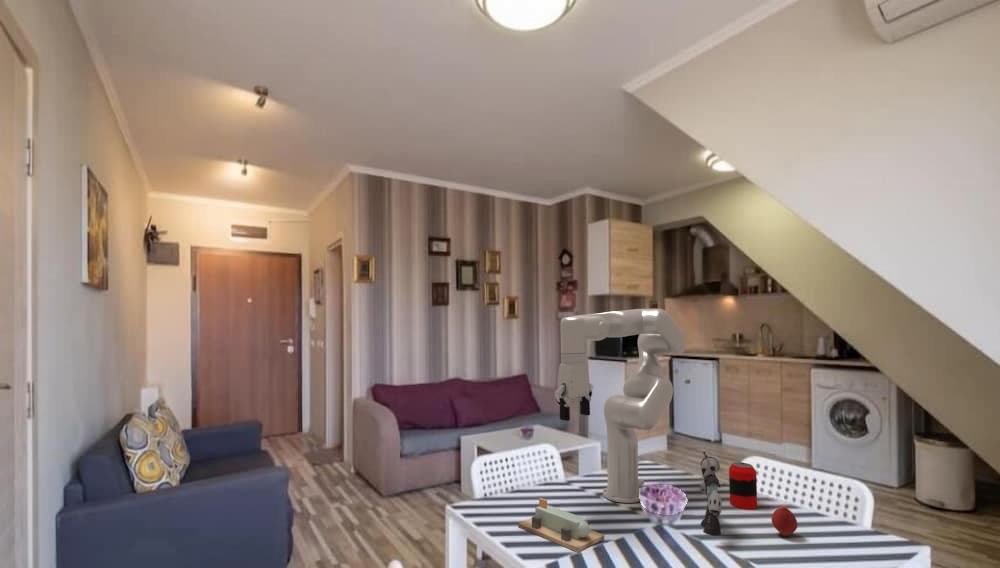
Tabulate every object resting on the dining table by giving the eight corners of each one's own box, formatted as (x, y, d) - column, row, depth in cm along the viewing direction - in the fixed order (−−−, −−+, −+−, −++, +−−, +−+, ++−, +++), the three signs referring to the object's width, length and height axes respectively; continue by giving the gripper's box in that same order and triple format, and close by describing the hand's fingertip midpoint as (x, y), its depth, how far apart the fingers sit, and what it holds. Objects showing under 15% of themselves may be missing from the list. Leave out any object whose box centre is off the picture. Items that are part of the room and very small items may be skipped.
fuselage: (544, 518, 138) (544, 496, 139) (593, 537, 127) (592, 513, 127) (534, 522, 136) (534, 499, 136) (583, 542, 124) (583, 517, 124)
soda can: (758, 503, 154) (757, 463, 155) (755, 511, 148) (754, 470, 148) (731, 498, 158) (730, 460, 159) (728, 506, 152) (727, 465, 152)
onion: (794, 533, 133) (793, 502, 133) (800, 542, 127) (799, 509, 128) (770, 530, 135) (769, 499, 135) (774, 538, 129) (773, 507, 130)
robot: (728, 546, 125) (726, 464, 126) (707, 543, 126) (705, 462, 127) (714, 516, 144) (712, 445, 145) (696, 514, 145) (695, 444, 146)
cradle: (545, 516, 143) (545, 503, 143) (604, 538, 128) (604, 524, 128) (518, 526, 135) (518, 513, 135) (577, 552, 121) (577, 537, 121)
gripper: (581, 355, 157) (582, 411, 156) (545, 360, 144) (546, 420, 144) (601, 357, 151) (602, 414, 150) (565, 362, 139) (567, 424, 138)
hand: (575, 417), depth 147 cm, fingers open, 9 cm apart
